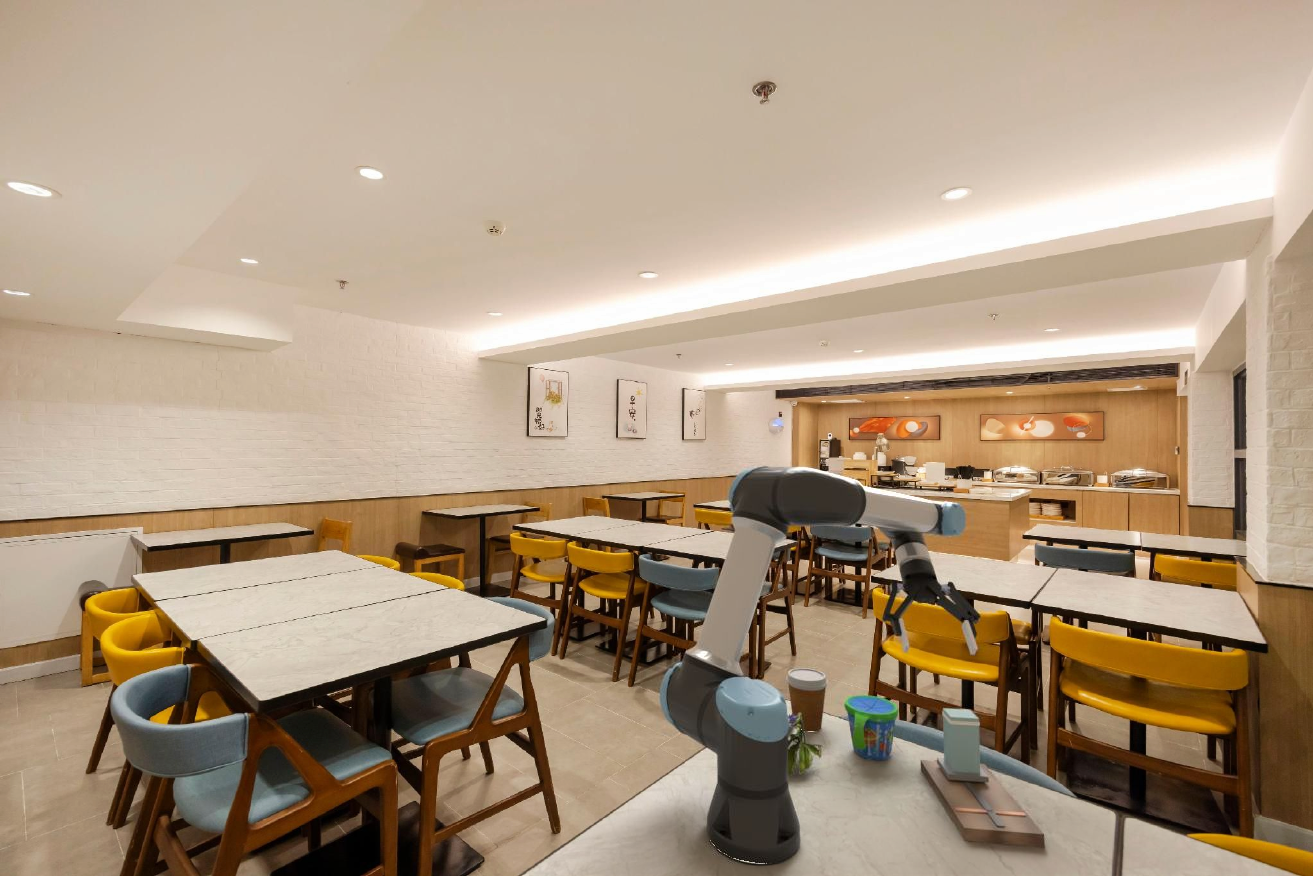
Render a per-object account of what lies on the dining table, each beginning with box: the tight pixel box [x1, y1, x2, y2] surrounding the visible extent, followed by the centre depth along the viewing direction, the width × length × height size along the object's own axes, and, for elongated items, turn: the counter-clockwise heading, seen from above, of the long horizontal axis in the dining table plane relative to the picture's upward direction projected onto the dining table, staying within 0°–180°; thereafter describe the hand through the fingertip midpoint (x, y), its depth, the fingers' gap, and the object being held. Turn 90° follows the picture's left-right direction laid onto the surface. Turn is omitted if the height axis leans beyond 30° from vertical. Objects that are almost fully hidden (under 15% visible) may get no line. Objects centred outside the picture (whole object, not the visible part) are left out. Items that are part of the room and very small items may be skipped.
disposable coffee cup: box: [785, 667, 829, 732], centre depth 134 cm, size 10×10×12 cm
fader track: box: [920, 759, 1046, 848], centre depth 103 cm, size 12×22×2 cm, turn 172°
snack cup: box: [844, 694, 899, 761], centre depth 122 cm, size 16×10×10 cm
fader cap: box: [936, 707, 989, 782], centre depth 109 cm, size 7×6×11 cm
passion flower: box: [787, 713, 823, 777], centre depth 118 cm, size 11×11×12 cm
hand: (940, 650), depth 121 cm, fingers open, 13 cm apart
